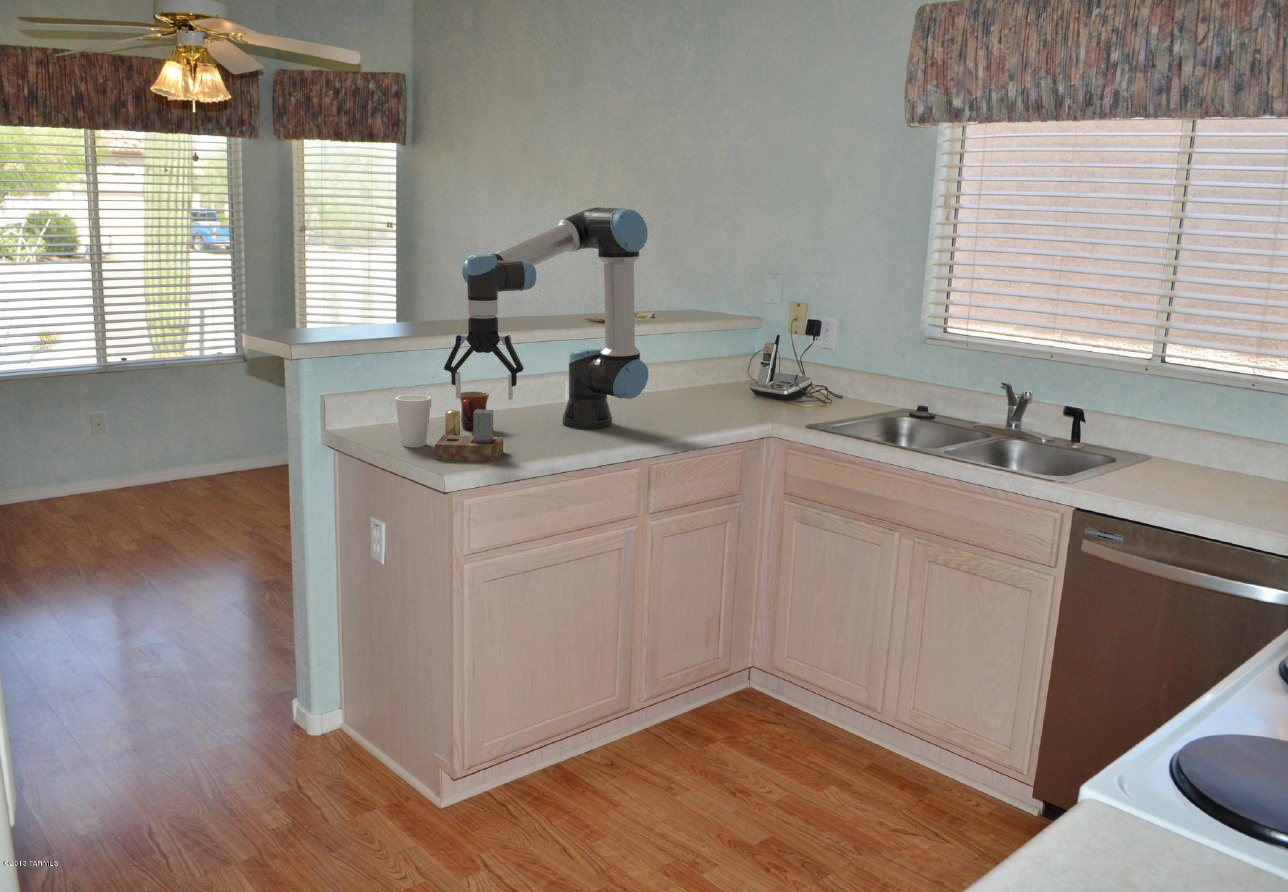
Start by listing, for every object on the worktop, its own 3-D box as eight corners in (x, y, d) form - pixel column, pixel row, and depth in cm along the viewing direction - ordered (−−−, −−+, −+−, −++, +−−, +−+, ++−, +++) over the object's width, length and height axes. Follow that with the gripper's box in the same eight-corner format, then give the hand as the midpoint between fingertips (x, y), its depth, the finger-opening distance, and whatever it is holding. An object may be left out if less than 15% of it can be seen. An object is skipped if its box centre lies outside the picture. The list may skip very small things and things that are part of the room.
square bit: (493, 454, 274) (493, 410, 272) (490, 458, 270) (490, 413, 267) (476, 453, 274) (476, 409, 272) (473, 457, 270) (473, 412, 267)
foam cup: (399, 440, 286) (398, 394, 283) (433, 441, 287) (432, 395, 284) (394, 448, 277) (393, 400, 274) (429, 449, 278) (428, 401, 275)
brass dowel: (461, 442, 287) (461, 410, 285) (458, 445, 283) (458, 413, 281) (446, 441, 287) (446, 409, 285) (444, 445, 283) (443, 412, 281)
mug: (465, 424, 310) (465, 390, 308) (493, 426, 308) (493, 392, 306) (450, 432, 299) (449, 397, 296) (478, 434, 297) (478, 399, 295)
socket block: (503, 451, 278) (503, 437, 277) (497, 461, 267) (497, 446, 266) (443, 449, 278) (443, 435, 277) (435, 459, 267) (435, 444, 266)
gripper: (533, 315, 268) (534, 396, 273) (437, 313, 268) (439, 394, 273) (530, 319, 260) (530, 401, 265) (431, 317, 260) (433, 399, 265)
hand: (484, 398), depth 269 cm, fingers open, 13 cm apart
